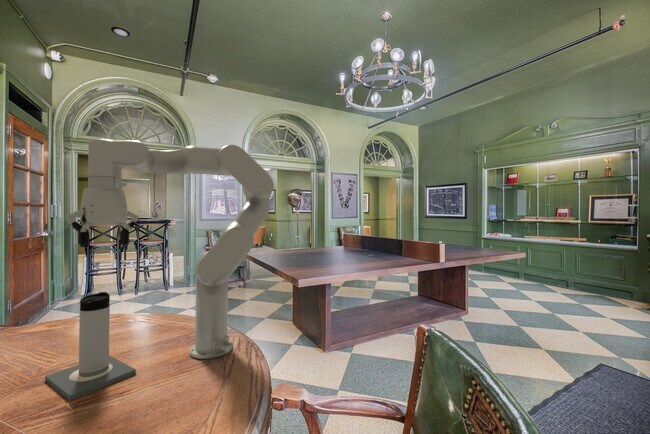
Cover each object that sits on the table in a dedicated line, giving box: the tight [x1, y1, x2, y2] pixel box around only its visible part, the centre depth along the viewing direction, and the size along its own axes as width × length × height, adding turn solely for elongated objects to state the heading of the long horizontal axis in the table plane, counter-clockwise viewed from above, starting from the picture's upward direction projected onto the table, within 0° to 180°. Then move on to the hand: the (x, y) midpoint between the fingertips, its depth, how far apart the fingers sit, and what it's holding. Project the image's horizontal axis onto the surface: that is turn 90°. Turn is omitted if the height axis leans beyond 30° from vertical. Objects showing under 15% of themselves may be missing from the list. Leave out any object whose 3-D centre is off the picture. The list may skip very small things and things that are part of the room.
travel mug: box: [78, 291, 111, 377], centre depth 77 cm, size 6×7×20 cm
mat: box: [44, 354, 137, 402], centre depth 77 cm, size 16×14×1 cm
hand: (105, 245), depth 82 cm, fingers open, 9 cm apart
